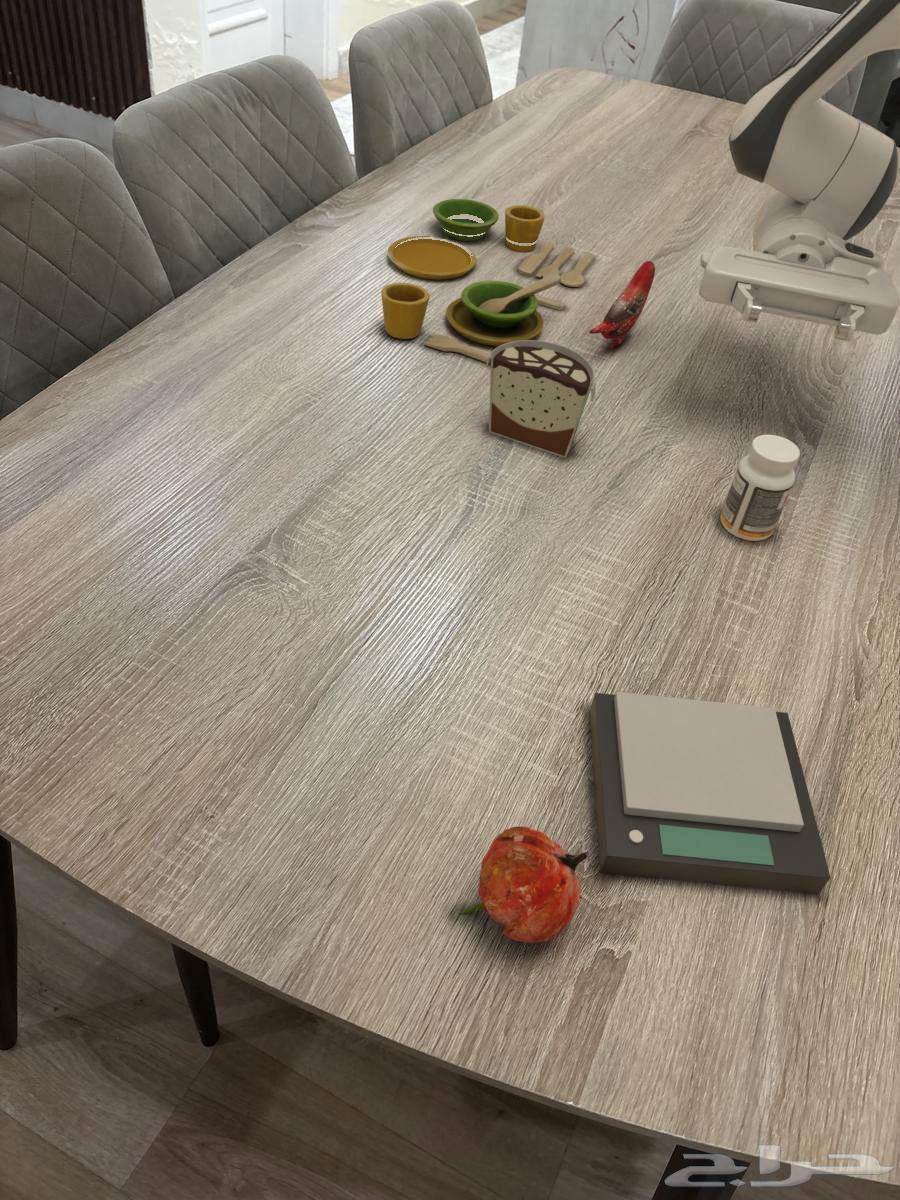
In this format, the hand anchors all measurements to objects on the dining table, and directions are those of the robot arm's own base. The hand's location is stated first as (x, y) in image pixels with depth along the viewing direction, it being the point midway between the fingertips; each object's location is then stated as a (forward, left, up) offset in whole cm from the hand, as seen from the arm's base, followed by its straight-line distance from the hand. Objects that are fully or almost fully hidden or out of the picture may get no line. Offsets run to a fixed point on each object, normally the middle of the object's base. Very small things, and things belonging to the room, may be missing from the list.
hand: (798, 324), depth 95 cm
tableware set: (+33, -36, -17) cm, 52 cm away
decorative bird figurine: (+14, -22, -17) cm, 32 cm away
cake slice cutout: (+24, -1, -17) cm, 30 cm away
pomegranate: (+26, +58, -17) cm, 66 cm away
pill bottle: (+2, +12, -17) cm, 21 cm away
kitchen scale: (+12, +47, -17) cm, 51 cm away
